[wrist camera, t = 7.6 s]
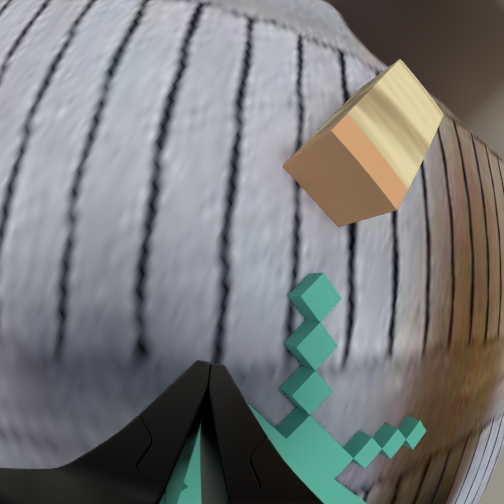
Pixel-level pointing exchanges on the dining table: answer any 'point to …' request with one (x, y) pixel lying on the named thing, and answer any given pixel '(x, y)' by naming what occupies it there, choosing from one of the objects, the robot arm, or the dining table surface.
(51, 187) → the dining table surface
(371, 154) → the maple block
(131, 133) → the dining table surface
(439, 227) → the dining table surface
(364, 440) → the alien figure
